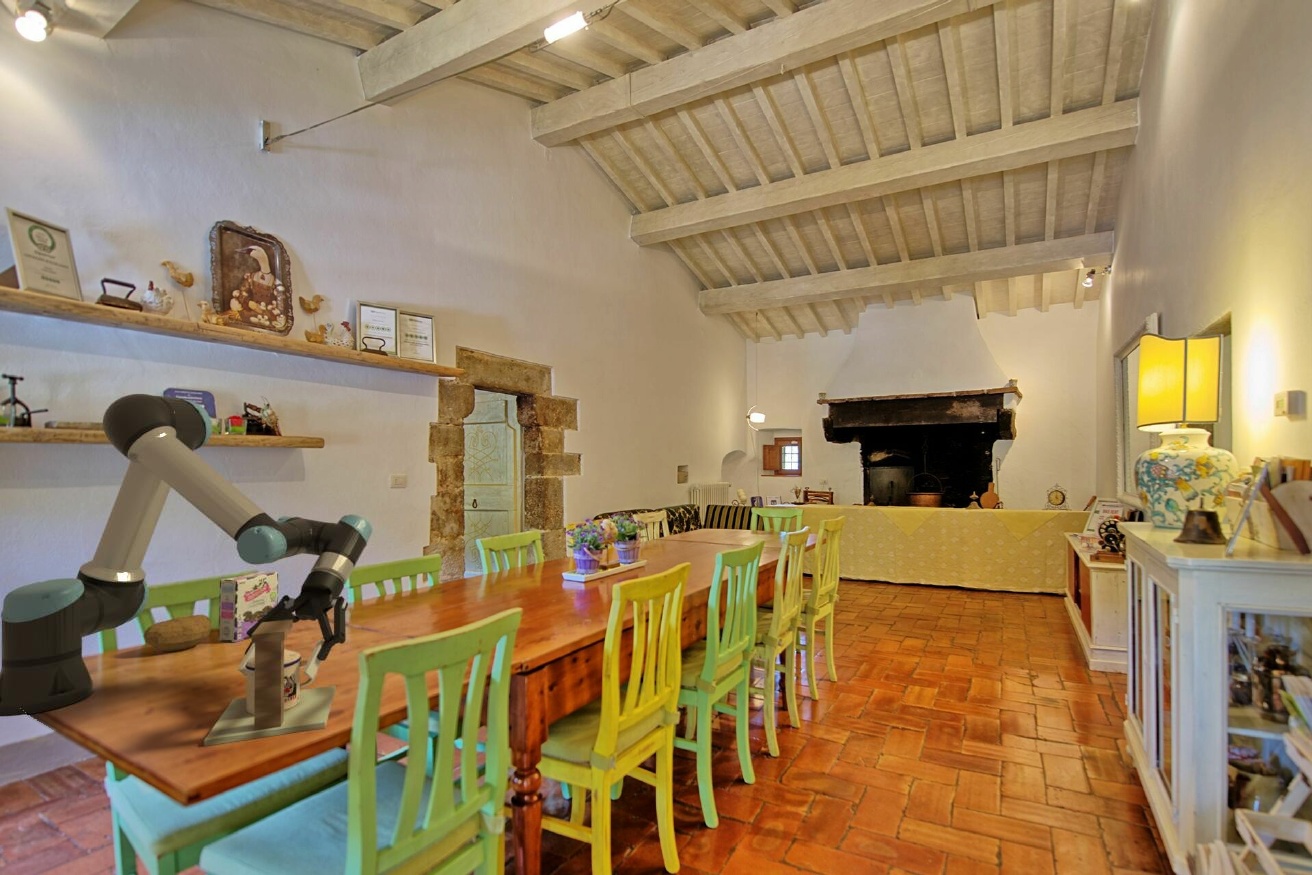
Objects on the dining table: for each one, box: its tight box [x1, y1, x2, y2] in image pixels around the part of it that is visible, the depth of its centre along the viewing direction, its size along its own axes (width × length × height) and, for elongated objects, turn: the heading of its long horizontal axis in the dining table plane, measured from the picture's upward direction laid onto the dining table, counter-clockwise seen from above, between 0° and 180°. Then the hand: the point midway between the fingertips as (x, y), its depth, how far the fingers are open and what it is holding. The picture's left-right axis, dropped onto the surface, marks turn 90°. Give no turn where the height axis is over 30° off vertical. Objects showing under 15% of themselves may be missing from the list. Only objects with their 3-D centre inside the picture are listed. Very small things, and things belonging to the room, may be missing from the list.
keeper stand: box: [203, 620, 337, 747], centre depth 119 cm, size 18×20×18 cm
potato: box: [143, 614, 212, 653], centre depth 162 cm, size 10×14×8 cm
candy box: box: [218, 570, 279, 643], centre depth 175 cm, size 14×6×16 cm, turn 165°
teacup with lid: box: [245, 648, 318, 714], centre depth 122 cm, size 12×9×12 cm
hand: (274, 674), depth 121 cm, fingers open, 13 cm apart
